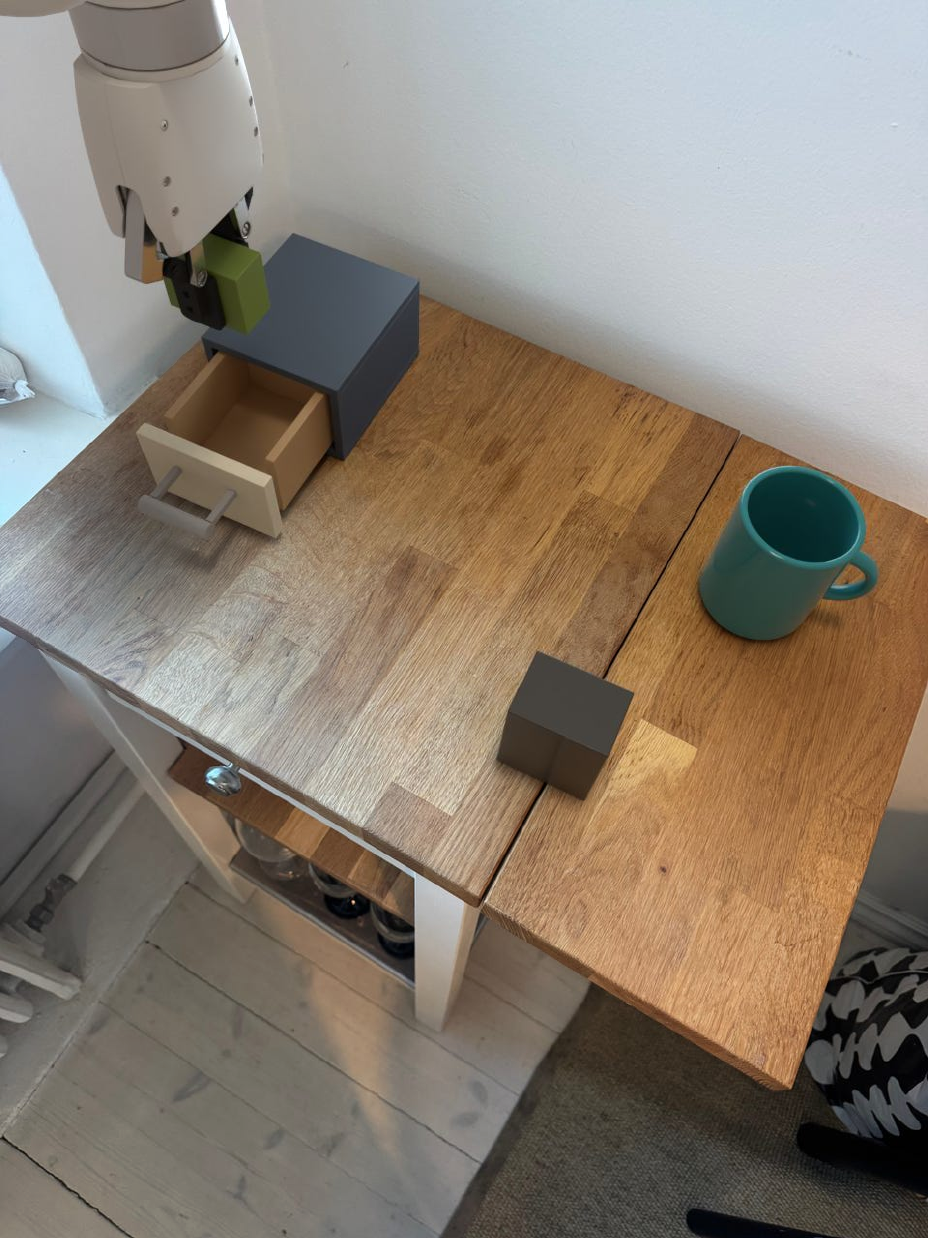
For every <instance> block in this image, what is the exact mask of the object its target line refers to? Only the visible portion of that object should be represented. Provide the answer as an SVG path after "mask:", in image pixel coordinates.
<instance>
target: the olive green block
mask: <svg viewBox="0 0 928 1238" xmlns="http://www.w3.org/2000/svg"><path fill="white" fill-rule="evenodd" d="M202 243H203V249H204V255H205V261H206V267H207V273H208V275H209V276H211V277H214V278H215V279H216V283H217V287H218V291H219V295H220V300H221V304H222V308H223V312H224V316H225V320H226V325H225V327H227V328H230V329H232V330H235V331H237V332H240V333H242V334H245V335H248V334H249V333H250V331H251V330H252V329H253V328H254V327H255V325H256V324H257V323H258V322H259V321H260V320H261V318H262V317H263V316H264V315H265V314H266V312H267V311H268V310H269V309H270V302H269V297H268V291H267V285H266V280H265V274H264V269H263V266H264V263H263V258H262V253H261V252H260V251H259V250H255V249H252V248H250V247H249V248H247V247H245V246H242V245H239V244H237V243H234V242H232V241H229V240H226V239H224V238H221V237H218V236H216V235H213V234H210V233H208V234H207V235H206V236H205V237H204V238H203V239H202ZM177 257H178V258H181V259H184V260H185V256H184V254H182V255H180V256H177ZM162 281H163V283H164V287H165V290H166V293H167V296H168V300H169V302H170V305H171V306H172V307H174V308H176V309H180V308H179V304H178V301H177V297H176V294H175V291H174V287H173V284H172V280H171V279H169V278H165V279H163V280H162Z"/></svg>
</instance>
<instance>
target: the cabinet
mask: <svg viewBox="0 0 928 1238" xmlns="http://www.w3.org/2000/svg"><path fill="white" fill-rule="evenodd" d="M263 269H264V274H265V280H266V285H267V291H268V297H269V302H270V309H269V310H268V311H267V312H266V314H265V315H264V316H263V317H262V318H261V320H260V321H259V322H258V323H257V324H256V325H255V327H254V328H253V329H252V330H251V331H250V333H249V334H248V335H245V334H242V333H240V332H237V331H235V330H232V329H230V328H227V327H224V328H223V329H222V330H221V331H219V330H216V329H213V328H211V327H208V328H207V330H206V331H204V333H203V334H201V336H200V338H201V339H200V340H201V343H202V346H203V350H204V352H205V353H204V354H205V357H206V360H207V364H208V363H209V362H210V361H211V359H212V358H213V357H214V356H215V355H216V354H217V353H218V351H222V352H224V353H227V354H229V355H232V356H234V357H236V358H239V359H241V360H244V361H246V362H249V363H251V364H254V365H256V366H259V367H261V368H264V369H266V370H269V371H271V372H274V373H276V374H279V375H281V376H284V377H286V378H289V379H291V380H294V381H296V382H299V383H301V384H304V385H306V386H309V387H311V388H314V389H316V390H319V391H321V392H324V393H326V394H329V397H330V406H331V415H332V423H333V432H334V441H333V442H332V444H331V445H330V447H329V448H328V449H327V451H326V452H325V454H327V455H330V456H332V457H334V458H337V459H339V460H341V461H345V460H346V458H348V456H349V454H350V453H351V451H353V448H354V447H355V446H356V444H357V443H358V442H359V440H360V439H361V437H362V436H363V434H364V433H365V432H366V430H367V429H368V427H369V426H370V425H371V423H372V422H373V420H374V419H375V417H376V416H377V414H378V413H379V412H380V410H381V408H382V407H383V406H384V404H385V403H386V402H387V400H388V399H389V397H390V396H391V394H392V393H393V391H394V390H395V388H396V387H397V386H398V384H399V383H400V382H401V380H402V379H403V376H405V374H406V373H407V371H408V370H409V368H410V367H411V365H412V364H413V363H414V361H415V360H416V358H417V357H418V355H419V354H420V287H421V284H420V283H421V282H420V280H421V279H420V278H417V277H413V276H411V275H408V274H406V273H403V272H400V271H397V270H396V269H392V268H389V267H388V266H384V265H382V264H379V263H376V262H374V261H370V260H368V259H365V258H362V257H359V256H357V255H354V254H352V253H348V252H346V251H343V250H341V249H338V248H336V247H334V246H330V245H327V244H324V243H322V242H318V241H317V240H314V239H312V238H311V239H310V238H309V237H306V236H303V235H300V234H297V233H294V232H292V233H291V234H290V236H288V238H287V239H286V240H285V241H284V242H283V244H281V246H280V247H279V248H278V249H277V250H276V251H275V252H274V254H272V256H271V257H270V258H269V259H268V261H266V262H265V264H263Z"/></svg>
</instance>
